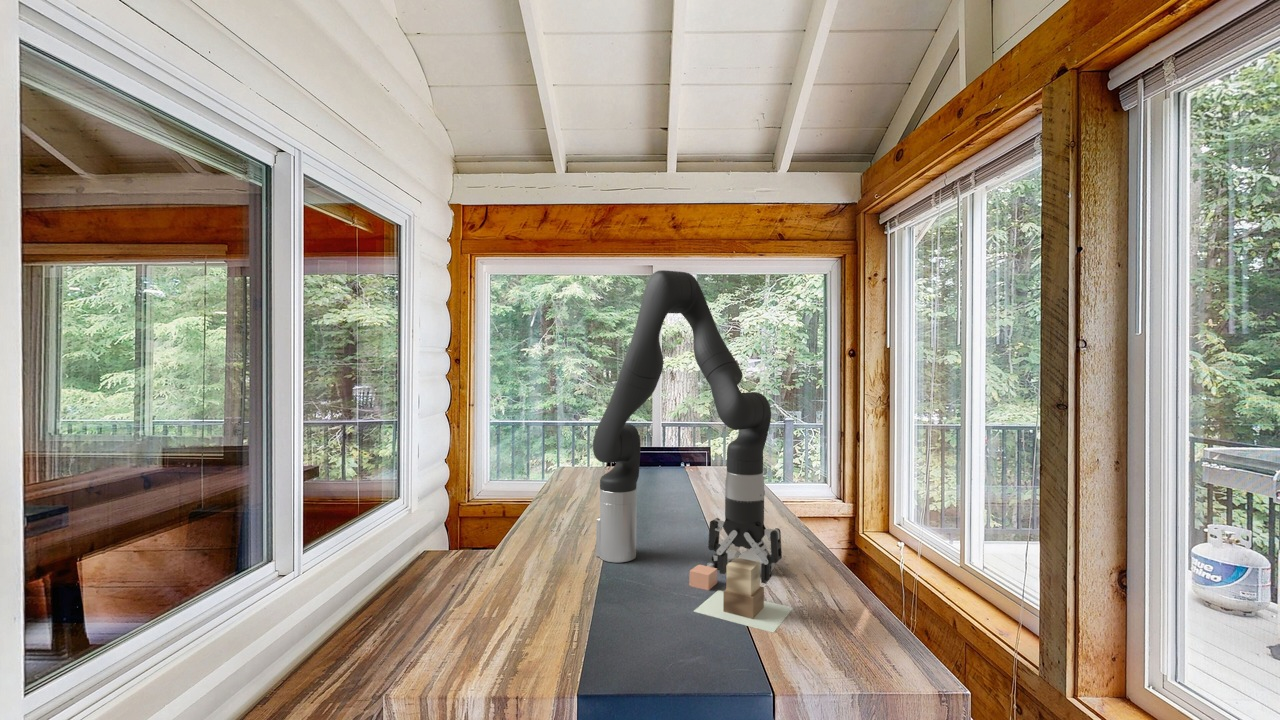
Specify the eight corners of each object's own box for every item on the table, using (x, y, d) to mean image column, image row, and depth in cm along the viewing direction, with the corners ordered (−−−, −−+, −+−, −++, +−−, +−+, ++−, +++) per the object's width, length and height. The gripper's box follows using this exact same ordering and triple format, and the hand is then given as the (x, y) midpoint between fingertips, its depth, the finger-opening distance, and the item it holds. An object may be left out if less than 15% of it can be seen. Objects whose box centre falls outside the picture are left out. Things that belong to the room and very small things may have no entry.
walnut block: (723, 611, 112) (723, 591, 112) (735, 600, 117) (735, 580, 117) (752, 619, 109) (753, 598, 109) (763, 607, 114) (763, 587, 114)
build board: (693, 617, 112) (693, 611, 112) (718, 595, 122) (718, 589, 122) (773, 639, 104) (773, 632, 104) (793, 613, 114) (793, 607, 114)
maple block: (726, 590, 112) (726, 565, 112) (736, 582, 116) (736, 557, 116) (750, 596, 109) (751, 570, 109) (759, 587, 114) (760, 562, 114)
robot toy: (704, 579, 134) (769, 585, 128) (703, 559, 134) (768, 564, 128) (719, 561, 145) (779, 566, 139) (718, 543, 145) (778, 547, 139)
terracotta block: (689, 591, 124) (689, 570, 124) (698, 584, 128) (698, 564, 128) (708, 596, 122) (708, 575, 122) (717, 589, 126) (717, 568, 126)
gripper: (703, 493, 113) (702, 576, 113) (773, 504, 106) (773, 592, 106) (718, 486, 120) (718, 564, 120) (786, 495, 112) (785, 578, 112)
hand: (743, 577), depth 113 cm, fingers open, 8 cm apart
